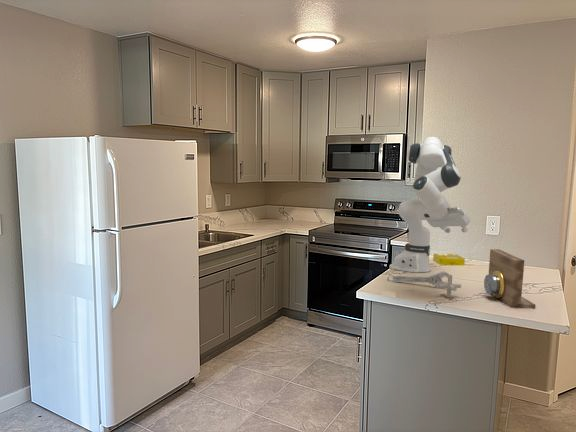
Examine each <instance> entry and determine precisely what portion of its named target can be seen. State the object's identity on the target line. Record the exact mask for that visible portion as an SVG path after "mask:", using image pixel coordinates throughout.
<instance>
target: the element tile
mask: <svg viewBox="0 0 576 432" xmlns="http://www.w3.org/2000/svg"><path fill="white" fill-rule="evenodd" d="M432 260H433V262H435V263H437V264H438V265H441V266H465V262H466V259H465V258H464V257H462V256H460V255H458V254H455V253H439V252H438V253H433V256H432Z"/></svg>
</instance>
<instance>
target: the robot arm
mask: <svg viewBox="0 0 576 432" xmlns="http://www.w3.org/2000/svg"><path fill="white" fill-rule="evenodd" d="M406 155H407V159H408V161H409V163H411V164H413V165H415V164H416V169H415V175H414V182H413V183H412V189H413V191H414V193H415V195H416V197H417V198H418V200H417V199H416V200H415V199H414V200H413V199H411V200H409V199H408V200H405V201H402V202H401V203H400V204H399V206H398V209H397V210H398V211H397V212H398V214H399V217H400V218H401V219H402V220H403V221H404V222H405V223H406V225H407V228H408V242H407V243H405V245H404V250H402V251H401V252H400V253H399V254H397V255H396V256H395V257H394V259H393V262H392V263H390V264H389V269H391V270H392V269H393V270H398V271H404V272H409V273H415V274H416V273H427V272H428V273H429V272H431V271H432V269H431V264H430V254H431V245H430V240H431V239H430V237H431V232H430V230H429V229H428V228H427V227H425V226H424V225H423V224H422V223H423V222H422V221H426V222H427V223H428V224H429V226H431V227H433V228H439V229H441V230H443V231H444V232H445V233H446V234H450V232H451V228H449V227H460V228H461V232H462V233H468V227H467V226H468V225H469V224H470V222H471V217H470V216H469V215H468V214H467V213H466V212H465V210H463V209H462V208H459V207H457V206H455V207H452V206H451V204H450V203H449V201H448V200H447V198H446V197H445V196H443V195H442V194H441V193H442V192H444V191H447V190H448V189H451V188H454V187H457V186H458V185H459V183H460V182H461V179H462V178H461V176H462V175H461V174H460V171H459V170H458V168H457V166H456V164H455V163H456V162H455V161H454V158H453V150H452V148H451V146H449V145H446V144H444V145H443V143H442V141H441V140H440V139H439V137H437V136H429V137H426V138H425V139H424V140H423V141H422V143H419V142H416V143H412V144H411V145H410V146H409V148H408V149H407V154H406Z"/></svg>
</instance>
